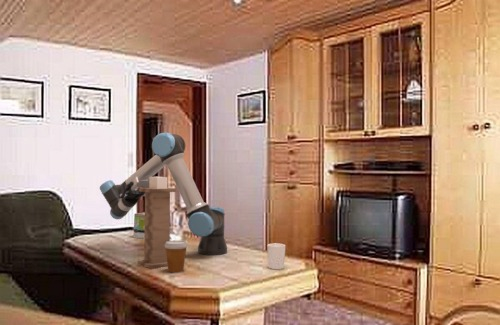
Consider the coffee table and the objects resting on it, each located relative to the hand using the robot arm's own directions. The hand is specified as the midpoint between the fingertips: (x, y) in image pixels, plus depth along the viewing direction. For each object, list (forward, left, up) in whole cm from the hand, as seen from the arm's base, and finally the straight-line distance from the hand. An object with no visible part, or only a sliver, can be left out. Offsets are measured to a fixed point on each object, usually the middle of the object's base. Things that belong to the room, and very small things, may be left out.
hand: (147, 179), depth 210 cm
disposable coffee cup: (-18, +17, -38) cm, 45 cm away
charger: (-2, +2, -4) cm, 5 cm away
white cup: (-60, +6, -38) cm, 71 cm away
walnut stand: (-7, +7, -38) cm, 39 cm away
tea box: (+20, -68, -38) cm, 81 cm away
